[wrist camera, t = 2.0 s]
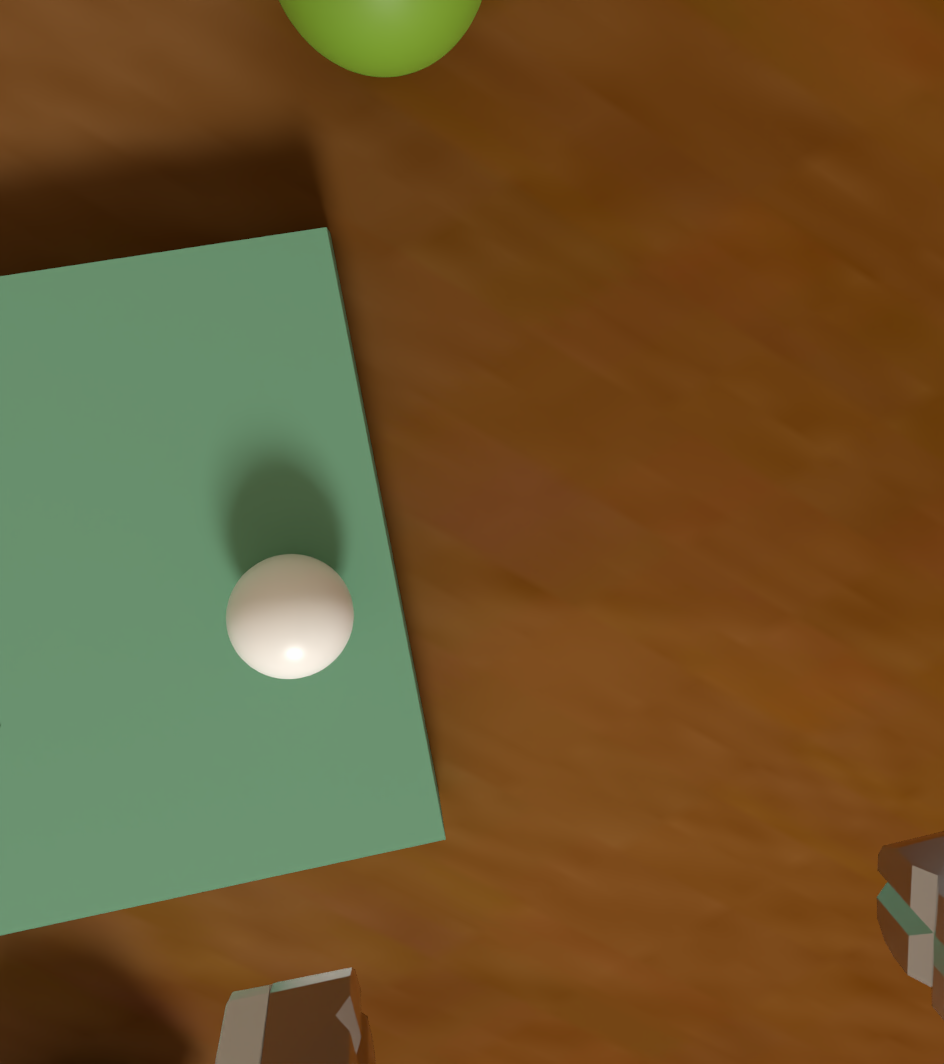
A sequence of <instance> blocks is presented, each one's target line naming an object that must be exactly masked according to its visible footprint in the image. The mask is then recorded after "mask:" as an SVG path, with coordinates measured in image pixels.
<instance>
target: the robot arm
mask: <svg viewBox="0 0 944 1064" xmlns="http://www.w3.org/2000/svg"><path fill="white" fill-rule="evenodd" d="M878 871H879V872H880V874H881V875H882V876H883V877H884V878H885V879H886V880H887V883H886V885H885V886H884V888H883V889H882V891H881V892H880V894H879V895H878V896H877V919H878V922H879V925H880V928H881V931H882V934H883V937H884V940H885V942H886V944H887V946H888V947H889V949H890V951H891V953H892V955H893V956H894V958H895V959H896V960H897V962H898V963H899V964H900V966H901V967H902V968H903V970H904V971H905V972H906V973H907V975H909V976H911V977H913V978H915V979H917V980H919V981H921V982H922V983H924V984H926V985H928V986H930V987H931V995H932V1006H933V1007H934V1009H935V1010H936V1011H937V1012H938V1014H939V1015H940V1016H941V1017H942V1019H943V1020H944V831H942V832H938V833H934V834H930V835H926V836H921V837H917V838H913V839H909V840H905V841H901V842H896V843H892V844H888V845H884V846H883V847H882V849H881V851H880V852H879V854H878ZM215 1064H376V1062H375V1051H374V1045H373V1040H372V1034H371V1029H370V1025H369V1021H368V1016H366V1015H365V1014H363V1013H362V1012H361V988H360V985H359V981H358V978H357V974H356V971H355V969H354V968H347V969H342V970H337V971H332V972H327V973H322V974H317V975H312V976H307V977H302V978H297V979H292V980H287V981H282V982H277V983H273V984H271V985H266V986H261V987H256V988H251V989H246V990H241V991H236V992H232V994H231V996H230V998H229V1000H228V1002H227V1004H226V1008H225V1013H224V1019H223V1024H222V1029H221V1035H220V1040H219V1045H218V1051H217V1056H216V1061H215Z"/></svg>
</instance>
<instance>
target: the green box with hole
mask: <svg viewBox="0 0 944 1064" xmlns="http://www.w3.org/2000/svg"><path fill="white" fill-rule="evenodd" d="M283 554H300V555H306V556H310V557H313V558H315V559H318V560H320V561H322V562H323V563H325V564H327V565H328V566H330V567H331V568H332V569H333V570H334V571H335V572H337V573H338V575H339V576H340V577H341V578H342V580H343V581H344V583H345V584H346V586H347V588H348V590H349V592H350V595H351V598H352V602H353V609H354V621H353V628H352V632H351V635H350V638H349V640H348V642H347V644H346V646H345V648H344V649H343V651H342V652H341V654H340V655H339V656H338V657H337V658H336V659H335V660H334V661H333V662H332V663H331V664H330V665H329V666H327V667H326V668H324V669H323V670H321V671H319V672H317V673H315V674H312V675H310V676H306V677H303V678H297V679H278V678H274V677H270V676H267V675H264V674H262V673H260V672H258V671H256V670H255V669H253V668H252V667H250V666H249V665H248V664H247V663H245V662H244V661H243V660H242V659H241V658H240V656H239V655H238V654H237V652H236V651H235V649H234V647H233V645H232V643H231V641H230V638H229V636H228V632H227V626H226V610H227V605H228V601H229V597H230V595H231V592H232V590H233V588H234V587H235V585H236V583H237V582H238V580H239V579H240V578H241V577H242V575H243V574H244V573H246V572H247V571H248V570H249V569H250V568H251V567H253V566H254V565H256V564H257V563H259V562H261V561H263V560H265V559H267V558H270V557H273V556H277V555H283ZM445 839H446V838H445V832H444V825H443V818H442V811H441V805H440V798H439V792H438V787H437V782H436V777H435V771H434V766H433V761H432V756H431V751H430V746H429V740H428V735H427V730H426V725H425V720H424V715H423V709H422V704H421V699H420V694H419V689H418V684H417V678H416V673H415V668H414V663H413V658H412V653H411V647H410V642H409V637H408V632H407V627H406V622H405V616H404V611H403V606H402V601H401V596H400V591H399V585H398V580H397V575H396V570H395V565H394V560H393V554H392V549H391V544H390V539H389V534H388V529H387V523H386V518H385V513H384V508H383V503H382V498H381V493H380V487H379V482H378V477H377V472H376V467H375V462H374V456H373V451H372V446H371V441H370V436H369V431H368V425H367V420H366V415H365V410H364V405H363V400H362V394H361V389H360V384H359V379H358V374H357V369H356V363H355V358H354V353H353V348H352V343H351V338H350V332H349V327H348V322H347V317H346V312H345V307H344V301H343V296H342V291H341V286H340V281H339V276H338V270H337V265H336V260H335V255H334V250H333V245H332V239H331V234H330V232H329V230H328V229H327V227H324V228H317V229H311V230H304V231H298V232H291V233H284V234H278V235H271V236H264V237H258V238H251V239H244V240H238V241H231V242H225V243H218V244H211V245H205V246H198V247H191V248H185V249H178V250H171V251H165V252H158V253H152V254H145V255H138V256H132V257H125V258H118V259H112V260H105V261H98V262H92V263H85V264H79V265H72V266H65V267H59V268H52V269H45V270H39V271H32V272H25V273H19V274H12V275H6V276H0V935H5V934H10V933H14V932H19V931H24V930H28V929H33V928H37V927H42V926H47V925H51V924H56V923H61V922H65V921H70V920H75V919H79V918H84V917H88V916H93V915H98V914H102V913H107V912H112V911H116V910H121V909H126V908H130V907H135V906H139V905H144V904H149V903H153V902H158V901H163V900H167V899H172V898H177V897H181V896H186V895H190V894H195V893H200V892H204V891H209V890H214V889H218V888H223V887H227V886H232V885H237V884H241V883H246V882H251V881H255V880H260V879H265V878H269V877H274V876H278V875H283V874H288V873H292V872H297V871H302V870H306V869H311V868H316V867H320V866H325V865H329V864H334V863H339V862H343V861H348V860H353V859H357V858H362V857H367V856H371V855H376V854H380V853H385V852H390V851H394V850H399V849H404V848H408V847H413V846H417V845H422V844H427V843H431V842H436V841H441V840H445Z"/></svg>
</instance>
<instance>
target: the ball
mask: <svg viewBox="0 0 944 1064" xmlns="http://www.w3.org/2000/svg"><path fill="white" fill-rule="evenodd" d="M353 621H354V609H353V602H352V598H351V595H350V592H349V590H348V588H347V586H346V584H345V583H344V581H343V580H342V578H341V577H340V576H339V575H338V573H337V572H335V571H334V570H333V569H332V568H331V567H330V566H328V565H327V564H325V563H323V562H322V561H320V560H318V559H315V558H313V557H310V556H306V555H300V554H283V555H277V556H273V557H270V558H267V559H265V560H263V561H261V562H259V563H257V564H256V565H254V566H253V567H251V568H250V569H249V570H248V571H247V572H246V573H244V574H243V575H242V577H241V578H240V579H239V580H238V582H237V583H236V585H235V587H234V588H233V590H232V592H231V595H230V597H229V601H228V605H227V610H226V626H227V632H228V636H229V638H230V641H231V643H232V645H233V647H234V649H235V651H236V652H237V654H238V655H239V656H240V658H241V659H242V660H243V661H244V662H245V663H247V664H248V665H249V666H250V667H252V668H253V669H255V670H256V671H258V672H260V673H262V674H264V675H267V676H270V677H274V678H278V679H297V678H303V677H306V676H310V675H312V674H315V673H317V672H319V671H321V670H323V669H324V668H326V667H327V666H329V665H330V664H331V663H332V662H333V661H334V660H335V659H336V658H337V657H338V656H339V655H340V654H341V652H342V651H343V649H344V648H345V646H346V644H347V642H348V640H349V638H350V635H351V632H352V628H353Z"/></svg>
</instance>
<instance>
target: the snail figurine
mask: <svg viewBox="0 0 944 1064" xmlns="http://www.w3.org/2000/svg"><path fill="white" fill-rule="evenodd" d="M481 1H482V0H279V2H280V4H281V6H282V8H283V10H284V11H285V13H286V15H287V17H288V18H289V20H290V21H291V23H292V24H293V25H294V27H295V28H296V29H297V31H298V32H299V33H300V34H301V36H302V37H303V38H304V39H305V40H306V41H307V42H308V43H309V44H310V45H311V46H312V47H313V48H314V49H315V50H317V51H318V52H319V53H320V54H321V55H323V56H324V57H326V58H327V59H328V60H330V61H332V62H333V63H335V64H337V65H339V66H341V67H343V68H345V69H347V70H350V71H352V72H355V73H359V74H362V75H367V76H373V77H396V76H402V75H407V74H410V73H414V72H416V71H419V70H421V69H424V68H426V67H428V66H429V65H431V64H433V63H434V62H436V61H438V60H439V59H440V58H442V57H443V56H444V55H445V54H447V53H448V52H449V51H450V50H451V49H452V48H453V47H454V46H455V45H456V44H457V43H458V41H459V40H460V39H461V38H462V36H463V35H464V34H465V32H466V31H467V29H468V28H469V26H470V24H471V23H472V21H473V19H474V17H475V15H476V13H477V11H478V9H479V6H480V4H481Z"/></svg>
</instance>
